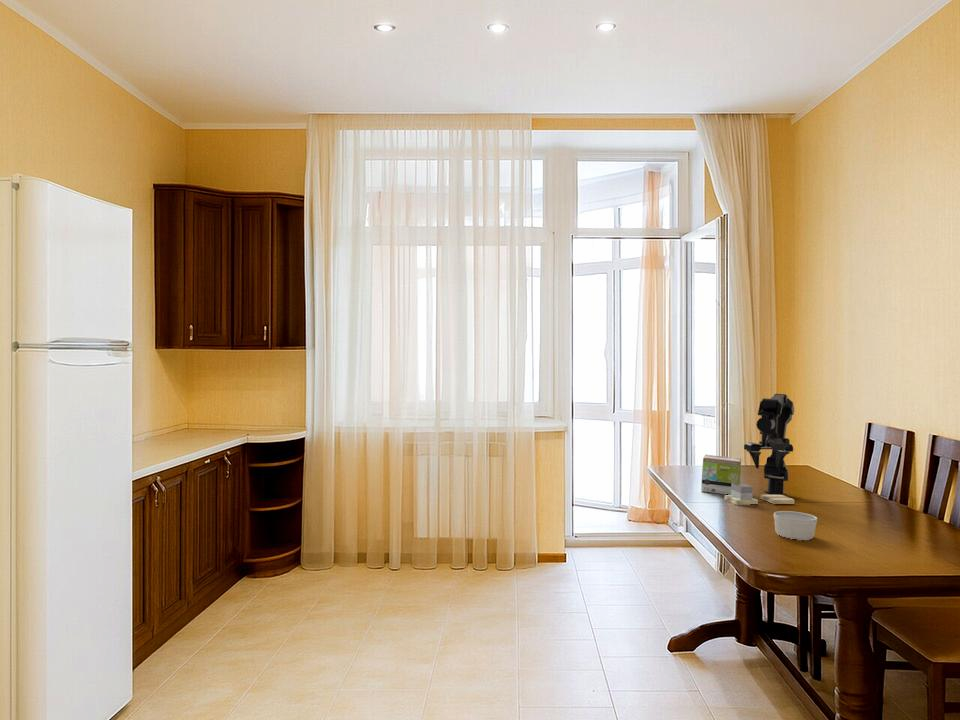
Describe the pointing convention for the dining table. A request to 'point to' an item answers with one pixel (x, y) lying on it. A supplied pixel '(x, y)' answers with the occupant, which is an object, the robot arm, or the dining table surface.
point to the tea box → (720, 473)
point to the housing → (741, 491)
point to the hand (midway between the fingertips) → (767, 468)
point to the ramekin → (795, 525)
